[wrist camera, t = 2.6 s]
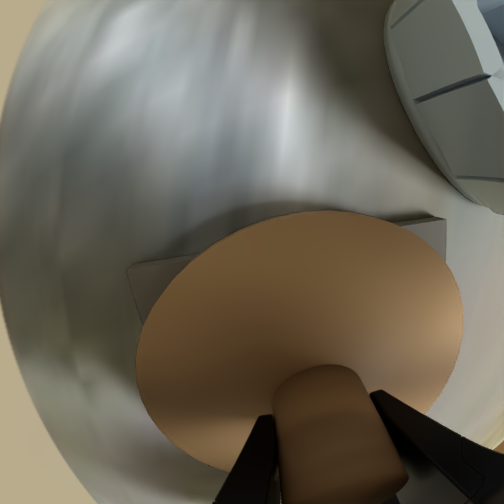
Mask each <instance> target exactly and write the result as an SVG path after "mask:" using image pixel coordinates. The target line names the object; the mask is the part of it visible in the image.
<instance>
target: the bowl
mask: <svg viewBox="0 0 504 504" xmlns="http://www.w3.org/2000/svg"><path fill="white" fill-rule="evenodd" d="M384 46H385V53H386V58H387V62H388V66H389V70H390V73H391V76H392V79H393V82H394V85H395V88H396V91H397V93H398V95H399V98H400V100H401V103H402V105H403V108H404V110H405V112H406V114H407V116H408V118H409V120H410V122H411V124H412V126H413V128H414V130H415V132H416V133H417V135H418V137H419V139H420V141H421V143H422V144H423V146H424V147H425V149H426V151H427V152H428V154H429V155H430V157H431V159H432V160H433V161H434V163H435V164H436V165H437V167H438V168H439V170H440V171H441V172H442V174H443V175H444V176H445V177H446V178H447V179H448V180H449V182H450V183H451V184H452V185H453V186H454V187H455V188H456V189H457V190H458V191H459V192H460V193H461V194H462V195H464V196H465V197H467V198H468V199H469V200H471V201H472V202H474V203H476V204H479V205H481V206H484V207H488V208H489V209H491V210H492V211H493V212H495V213H497V214H502V215H504V0H395V1H394V2H393V3H392V4H391V6H390V7H389V9H388V11H387V14H386V16H385V22H384Z"/></svg>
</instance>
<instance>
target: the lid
mask: <svg viewBox="0 0 504 504" xmlns="http://www.w3.org/2000/svg"><path fill="white" fill-rule="evenodd" d="M462 335H463V307H462V301H461V297H460V292H459V288H458V286H457V283H456V281H455V279H454V276H453V274H452V272H451V270H450V269H449V267H448V266H447V264H446V263H445V261H444V260H443V258H442V257H441V256H440V255H439V254H438V253H437V252H436V251H435V250H434V249H433V248H432V247H431V246H430V245H429V244H428V243H427V242H425V241H424V240H423V239H421V238H420V237H418V236H417V235H415V234H414V233H412V232H411V231H409V230H407V229H404V228H402V227H400V226H398V225H395V224H393V223H391V222H388V221H385V220H382V219H379V218H375V217H371V216H367V215H363V214H359V213H354V212H346V211H333V210H319V211H305V212H296V213H291V214H286V215H282V216H277V217H273V218H269V219H266V220H263V221H260V222H258V223H255V224H252V225H249V226H247V227H244V228H242V229H240V230H238V231H236V232H234V233H232V234H230V235H228V236H226V237H224V238H223V239H221V240H219V241H217V242H215V243H214V244H213V245H211V246H210V247H209V248H207V249H206V250H204V251H203V252H202V253H200V254H199V255H198V256H196V257H195V258H194V259H193V260H192V261H190V262H189V263H188V264H187V265H186V266H185V267H184V268H183V269H182V270H181V271H180V272H179V273H178V274H177V275H176V276H175V278H174V279H173V280H172V282H171V283H170V284H169V286H168V287H167V288H166V290H165V291H164V292H163V294H162V295H161V296H160V298H159V299H158V300H157V302H156V303H155V305H154V306H153V308H152V310H151V312H150V314H149V316H148V318H147V320H146V322H145V324H144V326H143V328H142V332H141V335H140V338H139V342H138V345H137V353H136V363H135V367H136V379H137V385H138V389H139V392H140V396H141V399H142V401H143V404H144V406H145V408H146V410H147V412H148V414H149V415H150V417H151V419H152V420H153V421H154V423H155V424H156V426H157V427H158V428H159V429H160V431H161V432H162V433H163V434H164V435H165V436H166V437H167V438H168V439H169V440H170V441H171V442H172V443H174V444H175V445H176V446H177V447H178V448H180V449H181V450H183V451H184V452H186V453H187V454H189V455H190V456H192V457H193V458H195V459H197V460H199V461H201V462H203V463H205V464H207V465H210V466H212V467H215V468H217V469H220V470H223V471H226V472H230V471H231V469H232V467H233V466H234V464H235V462H236V460H237V458H238V456H239V454H240V452H241V450H242V448H243V446H244V444H245V442H246V440H247V438H248V436H249V434H250V432H251V430H252V428H253V426H254V424H255V422H256V420H257V418H258V416H260V415H265V414H272V415H273V421H274V430H275V440H276V450H277V462H278V472H279V481H280V491H281V501H282V504H381V503H383V502H384V501H386V500H388V499H389V498H391V497H392V496H394V495H395V494H396V493H398V492H399V491H400V490H401V489H402V488H403V487H404V486H405V485H406V483H407V482H408V480H409V475H408V473H407V471H406V468H405V466H404V464H403V462H402V460H401V458H400V456H399V454H398V452H397V450H396V448H395V445H394V443H393V441H392V439H391V437H390V435H389V433H388V431H387V429H386V427H385V425H384V423H383V421H382V419H381V417H380V415H379V413H378V411H377V409H376V408H375V406H374V404H373V402H372V400H371V398H370V396H369V393H370V392H373V391H376V390H379V389H382V390H384V391H386V392H387V393H389V394H391V395H392V396H394V397H396V398H397V399H399V400H401V401H402V402H404V403H406V404H407V405H409V406H411V407H412V408H414V409H416V410H417V411H419V412H421V413H422V414H425V413H426V412H427V411H428V410H429V409H430V407H431V406H432V405H433V403H434V402H435V401H436V399H437V398H438V397H439V395H440V393H441V392H442V390H443V388H444V387H445V385H446V383H447V382H448V379H449V377H450V375H451V373H452V371H453V369H454V366H455V363H456V360H457V357H458V354H459V351H460V346H461V341H462Z"/></svg>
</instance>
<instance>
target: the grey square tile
mask: <svg viewBox="0 0 504 504" xmlns="http://www.w3.org/2000/svg"><path fill="white" fill-rule="evenodd" d="M393 224H395V225H398V226H400V227H402V228H404V229H407V230H409V231H411V232H412V233H414V234H415V235H417V236H418V237H420V238H421V239H423V240H424V241H425V242H427V243H428V244H429V245H430V246H431V247H432V248H433V249H434V250H435V251H436V252H437V253H438V254H439V255H440V256H441V257H442V258H443V260H444V261H446V219H443V218H439V217H430V218H423V219H417V220H410V221H403V222H396V223H393ZM199 254H200V253H198V254H192V255H185V256H179V257H173V258H167V259H161V260H155V261H149V262H143V263H137V264H133V265H132V266H130V267H129V268H128V269H127V270H126V272H127V276H128V280H129V283H130V286H131V290H132V293H133V296H134V300H135V303H136V306H137V309H138V312H139V315H140V318H141V321H142V324H143V326H144V324H145V322H146V320H147V318H148V316H149V314H150V312H151V310H152V308H153V306H154V305H155V303H156V302H157V300H158V299H159V298H160V296H161V295H162V294H163V292H164V291H165V290H166V288H167V287H168V286H169V284H170V283H171V282H172V280H173V279H174V278H175V276H176V275H177V274H178V273H179V272H180V271H181V270H182V269H183V268H184V267H185V266H186V265H187V264H188V263H189V262H190V261H192V260H193V259H194V258H195V257H196V256H198V255H199ZM208 466H210V465H208Z"/></svg>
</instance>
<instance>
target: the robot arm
mask: <svg viewBox="0 0 504 504" xmlns="http://www.w3.org/2000/svg"><path fill="white" fill-rule="evenodd" d="M369 396H370V398H371V400H372V402H373V404H374V406H375V408H376V409H377V411H378V413H379V415H380V417H381V419H382V421H383V423H384V425H385V427H386V429H387V431H388V433H389V435H390V437H391V439H392V441H393V443H394V445H395V448H396V450H397V452H398V454H399V456H400V458H401V460H402V462H403V464H404V466H405V468H406V471H407V473H408V475H409V480H408V482H407V483H406V485H405V486H404V487H403V488H402V489H401V490H400V491H399V492H398V493H396V494H395V495H394V496H392V497H391V498H389V499H388V500H386V501H384V502H383V503H381V504H504V454H502V453H500V452H497V451H494V450H491V449H489V448H486V447H484V446H481V445H479V444H477V443H475V442H473V441H471V440H469V439H467V438H465V437H463V436H462V437H461V435H460V434H458V433H456V432H454V431H452V430H450V429H449V428H447V427H445V426H443V425H442V424H440V423H438V422H436V421H435V420H433V419H431V418H429V417H428V416H426V415H424V414H422V413H421V412H419V411H417V410H416V409H414V408H412V407H411V406H409V405H407V404H406V403H404V402H402V401H401V400H399V399H397V398H396V397H394V396H392V395H391V394H389V393H387V392H386V391H384V390H382V389H379V390H376V391H373V392H370V393H369ZM212 504H280V481H279V472H278V462H277V450H276V440H275V430H274V421H273V415H272V414H265V415H260V416H258V418H257V420H256V422H255V424H254V426H253V428H252V430H251V432H250V434H249V436H248V438H247V440H246V442H245V444H244V446H243V448H242V450H241V452H240V454H239V456H238V458H237V460H236V462H235V464H234V466H233V467H232V469H231V471H230V473H229V475H228V477H227V478H226V480H225V482H224V484H223V486H222V487H221V489H220V491H219V493H218V494H217V496H216V498H215V502H213V503H212Z"/></svg>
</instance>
